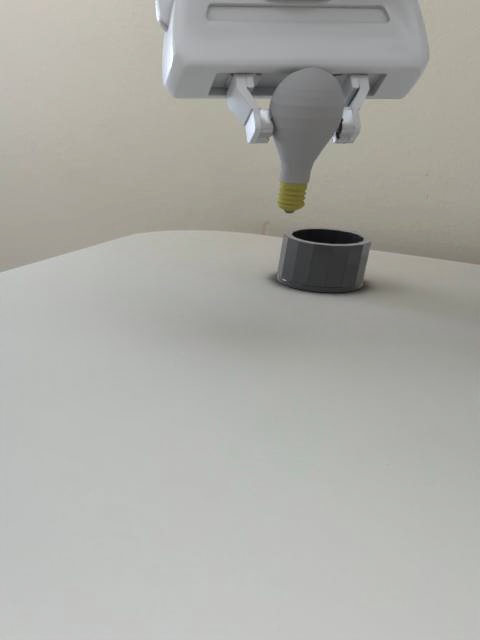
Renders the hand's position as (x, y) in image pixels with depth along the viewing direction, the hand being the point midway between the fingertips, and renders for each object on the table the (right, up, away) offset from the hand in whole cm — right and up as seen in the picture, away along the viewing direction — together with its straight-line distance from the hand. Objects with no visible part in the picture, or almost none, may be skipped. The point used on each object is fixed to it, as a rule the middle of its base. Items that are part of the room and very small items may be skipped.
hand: (304, 138), depth 75 cm
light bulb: (0, -4, +4) cm, 6 cm away
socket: (+10, -1, +28) cm, 30 cm away
